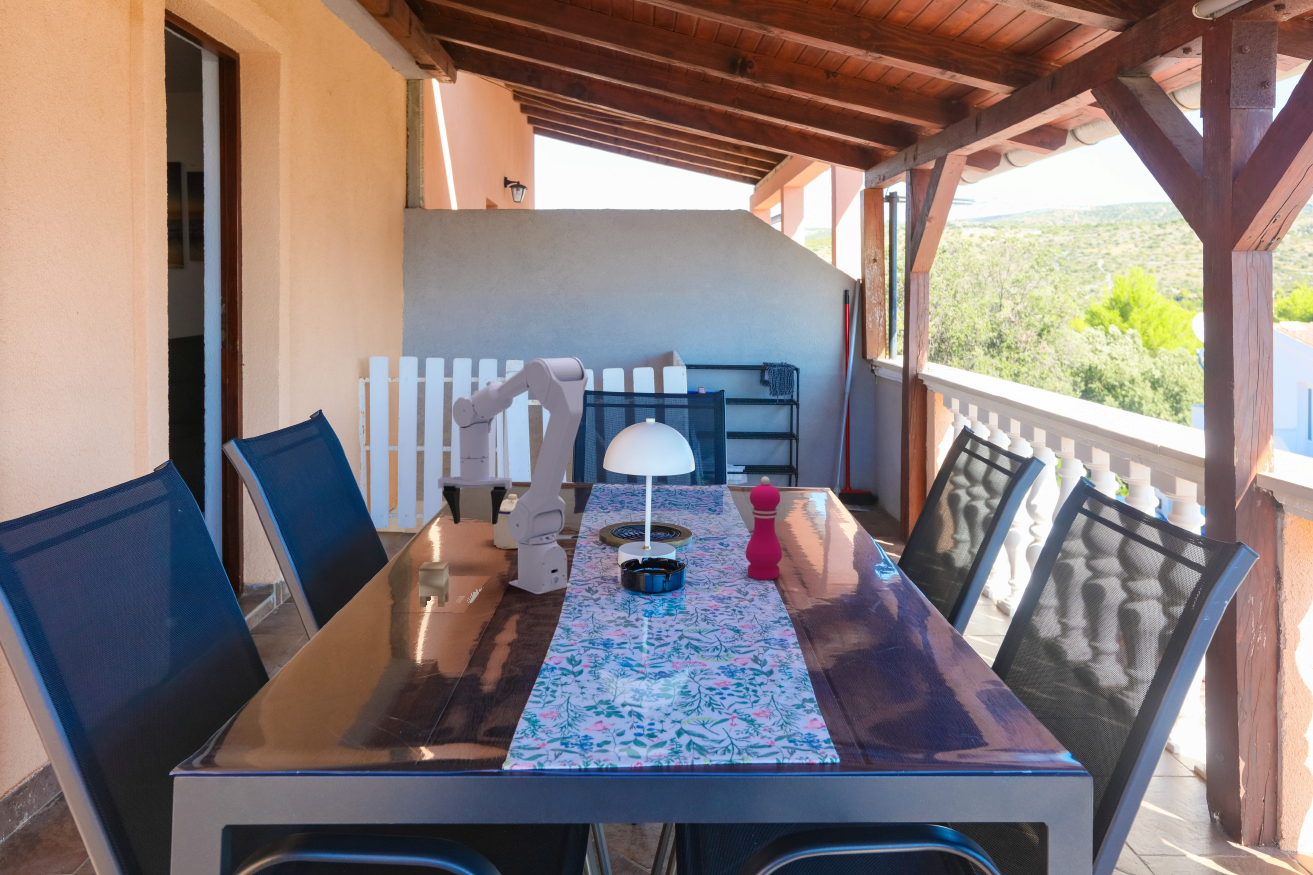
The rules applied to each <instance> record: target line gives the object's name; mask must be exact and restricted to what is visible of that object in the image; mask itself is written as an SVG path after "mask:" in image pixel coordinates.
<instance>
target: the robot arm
mask: <svg viewBox="0 0 1313 875" xmlns="http://www.w3.org/2000/svg"><path fill="white" fill-rule="evenodd" d="M588 380H589V376H588V372H587V371H586V369H585V366H584V364H583V362H582V361H581V360H580V359H579V358H578V357H576V356H567V357H554V358H553V357H551V358H549V357H548V358H543V357H536V358H535V357H534V358H533V359H531V360H530V361H528V362H525V363H524V365H523V367H522V368H521V369H519V370H518V371H517V372H516V373H514V374H513V375H512V376H510V377H509V378H508V379H506V380H505V381H504V382H503V381H497V380H489V381H488V382H486V383H485V384H486V386H485V387H483V388H482V389H480V390H475V391H474V392H472V395H471V396H469V397H465V396H463V397H462V396H461V397H458V398H457V400H455V401H454V403H453V405H452V417H453V420H454V422H455V423H456V424H457V426H458V427H459V428H458V429H459V430H458V431H459V432H458V433H459V434H458V435H459V471H460V472H459V473H460V476H447V477H446V476H445V477H443V476H442V477H439V478H438V479H437V486H438V487H437V488H438V489H443V491H442V495H443V497H444V499H445V500H446V502H447V504H448V507H449V510H450V511H451V515H452V519H453V524H455V525H458V524H459V523H460V522H461V509H460V499H461V498H460V497H461V489H492V490H491V491H490V498H491V508H492V509H491V514H492V523H491V525H492V524H497V522H498V515H499V510H500V507H501V504H502V501H504V500H505V499H504V498H505V496H506V494H507V491H508V490H510V489H512V488H513V478H512V477H502V476H501V477H499V476H490V448H489V447H490V444H489V443H490V438H489V434H491V431H492V423H493V421H494V419H495V417H496V416H497V415H499V414H500V413H502V412H504V411H505V410H507V409H509V408H510V407H512V404H513V402H514V398H516V397H518V396H520V395H522V394H524V393H526V392H528V391H531V392H532V393H533V395H534V396H535V398H536V399H537V400H538V402H539V403H540V404H541V406H542V408H544V409H545V410H547V411H548V413H549V418H548V422H547V425H546V428H545V433H544V436H543V439H542V444H541V447H540V450H539V454H538V458H537V461H536V465H535V468H534V472H533V476H532V478H531V483H530V486H529V489H528V490H527V491H526V492H525V493H524V494H522V496H520V497H519V498H518V500H517V503H516V506H515V508H514V509H513V510H512V511H511V513H510V515H509V518H508V528H509V531H510V533H511V535H512V537H513V538H514V539H515V541H516V542H518V550H517V574H518V575H517V578H518V579H515V580H512V581H509V582H508V584H509V585H511V586H514V587H516V588H520V589H522V590H525V591H527V592H530V593H533V594H535V595H541V594H544V593H548V592H552V591H556V590H560V589H564V588H568V587H571V583H569V582H568V556H567V552H566V550H565V549H564V548H563V547H561V546H560V545H559V544H558V542H557V539H559V537H560V535H559V534H560V533H561V531H562V530H563V529H564V526H565V519H566V517H565V511H566V507H567V504H566V503H567V502H565V500H564V499H563V498H562V497H561V496H560V495H559V494H560V491H561V488H562V485H563V481H564V477H565V474H566V471H567V468H568V464H569V461H570V457H571V454H572V452H573V451H572V450H573V447H574V446H575V445H574V444H575V441H576V438H577V434H578V430H579V427H580V423H581V420H582V417H583V411H584V410H583V409H584V393H585V390H586V386H587V385H588V384H587V383H588Z"/></svg>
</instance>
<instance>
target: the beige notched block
mask: <svg viewBox="0 0 1313 875" xmlns="http://www.w3.org/2000/svg"><path fill="white" fill-rule="evenodd" d="M449 573H450V572H449V561H423V563H422V564H421V565H420V567H418V583H419V597H420V607H421V606H422V607H426V605H427V601H430V600H431V596H438V607H445V602H448V601H449V575H450V574H449Z"/></svg>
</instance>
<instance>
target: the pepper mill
mask: <svg viewBox="0 0 1313 875" xmlns="http://www.w3.org/2000/svg"><path fill="white" fill-rule="evenodd" d="M760 483H761V484H758V485H755V486H754V487H753V488H752V489H751V491H750V494H749V501H750V504H751V505H752V506H753V508H752V509H751V511H752V512H751V516H752V517H753V521H754V525H753V532H752V534H751V536H750V539H749V541H748V542H747V545H746V548H745V558H746V560H747V561H748V562H749V564H748V566H747V576H748V577H749V578H750V579H751V578H752V579H755V580H761V581H764V580H766V581H769V580H770V581H771V580H774V579H777V578H779V577H780V567H779V566H778V563H780V561H781V560H782V558H783V551H782V546H781V544H780V540H779V539H778V537H777V532H776V528H775V526H776V525H775V521H776V517H778V509H777V507H778V505H779V504H780V502H781V493H780V491H779V490H778V488H777V487H775V486H774V485H772V484H771V482H770V478H769V477H768V476H762V478H761V479H760Z"/></svg>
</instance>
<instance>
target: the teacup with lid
mask: <svg viewBox="0 0 1313 875" xmlns="http://www.w3.org/2000/svg"><path fill="white" fill-rule="evenodd" d="M518 499H519V498H518V495H517V494H515V493H510V494H509V495H507V498H506V499H503V501H502V504H501V507H500V510H499V515H498V522H497V524H492V513H491V515H490V521H491V526H492V528H493V546H494V545H496V546H498V547H501V548H518V542H516V541H515V539H514V538H513V537H512V535H511V533H510V531H509V528H508V518H509V515H510V513H511V511H512V510H513V509H514V508H515V506H516V503H517V500H518Z"/></svg>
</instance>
